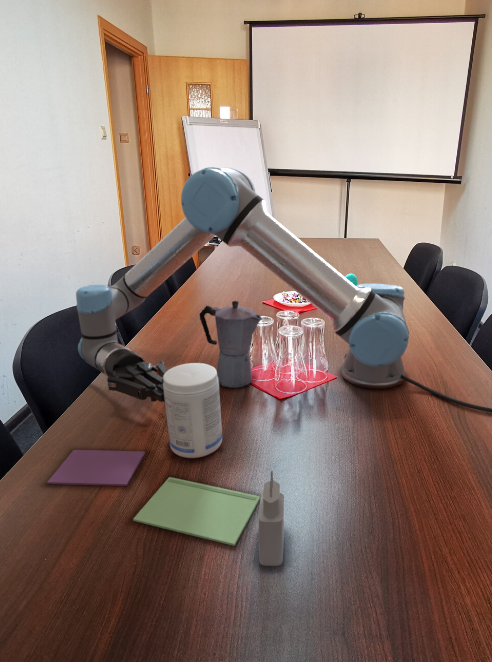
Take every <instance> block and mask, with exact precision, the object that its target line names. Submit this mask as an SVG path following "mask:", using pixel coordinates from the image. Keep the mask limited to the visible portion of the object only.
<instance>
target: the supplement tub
mask: <svg viewBox="0 0 492 662" xmlns="http://www.w3.org/2000/svg"><path fill="white" fill-rule="evenodd" d="M167 370H168V371H167V372H166V373H165V374H164V376H163V381H164V382H163V388H164V398H165V402H164V406H165V414H166V425H167V432H168V440H169V446H170V450H171V451H172V452H173V453H174V454H175V455H177V456H179V457H182V458H185V459H196V458H197V459H198V458H202V457H206V456H209V455H211V454H212V453H214V452H215V451H217V450H218V449H219V448H220V446H221V445H222V442H223V425H222V412H221V411H222V410H221V397H220V395H221V394H220V384H219V382H218V377H217V368H215V367H214V366H212V365H211V364H207V363H202V362H189V363H182V364H180V365H176V366H173V367H171V368H169V369H167Z"/></svg>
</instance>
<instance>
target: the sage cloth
mask: <svg viewBox="0 0 492 662" xmlns="http://www.w3.org/2000/svg"><path fill="white" fill-rule="evenodd" d="M260 499H261V495H260V496H259V495H255V494H252V493H246V492H242V491H237V490H233V489H232V490H231V489H227V488H223V487H218V486H214V485H210V484H204V483H200V482H195V481H190V480H185V479H180V478H177V477H172V476H169V477H168V478H167V479H166V480H165V482H164V483H163V484H162V485H161V486H160V487H159V488H158V490H157V491H155V493H154V494H153V495H152V496H151V498H150V499H149V500H148V501H147V502H145V503H146V504H145V505H144V506H142V507H141V509H140V510H139V511H138V513H137V514H136V515H135V516H134V517H133V519H132V521H133V522H136V523H140V524H144V525H148V526H152V527H156V528H160V529H165V530H168V531H173V532H176V533H180V534H184V535H188V536H193V537H196V538H200V539H204V540H207V541H213V542H216V543H221V544H224V545H229V546H233V547H235V546H236V545H237V542H238V541H239V539H240V537H241V536H242V533H243V532H244V530H245V528H246V526H247V524H248V522H249V520H250V519H251V517H252V515H253V513H254V511H255V509H256V507H257V505H258V503H260Z"/></svg>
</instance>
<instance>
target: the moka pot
mask: <svg viewBox="0 0 492 662" xmlns="http://www.w3.org/2000/svg"><path fill="white" fill-rule="evenodd" d="M239 303H240V302H239V301H238V300H233V301H231V305H232V306H225V307H221V308H220V307H218V306H217V307H216V306H215V307H212V306H210V305H205V307H204V308H203V309H202V310H201V312H199V320H200V322H201V326H202V328H203V331H204V333H205V334H204V335H205V337H206V340H207V341H206V342H207V343H208V344H211V345H214V346H215V345H217V344H218V348H219V349H218V350H219V353H218V360H217V367H216V371H217V377H218V382H219V386H221V387H224V388H225V387H226V388H231V389H236V388H243V387H246V386H248V385H250V383H252V382H253V377H252V376H253V375H252V366H251V355H250V353H251V352H250V350H251V345H252V340H253V334H254V333H255V331H256V329H257V327H258V325H259V323H260V321H262V320H263V318H262V316H261V315H260V314H258V313H256V312H255V310H254V309H252V308H249V307H246V306H239ZM207 314H209V315H210V316H212V317H214V318H215V328H216V335H217V340H213V339H212V336H211V334H210V330H209V326H208V323H207V319H206V316H205V315H207Z"/></svg>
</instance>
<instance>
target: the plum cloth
mask: <svg viewBox="0 0 492 662" xmlns="http://www.w3.org/2000/svg"><path fill="white" fill-rule="evenodd" d="M145 455H146V450H145V451H144V450H143V451H141V450H102V449H101V450H99V449H97V450H96V449H73V450H72V451H71V452H70V454H69V455H68V456H67V457H66V459H65V460H64V461H63V462H62V463H61V465H60V466H59V467H58V468H57V469H56V471H55V472H54V473H53V474H52V476H51V477H50V478H49V479H48V481H47V482H46V484H47V485H65V486H66V485H67V486H104V487H105V486H106V487H107V486H109V487H128V485H129V484H130V481H131V480H132V478H133V476H134V474H135V472H136V471H137V470H138V468H139V466H140V463H141V462H142V460H143V459H144V457H145Z"/></svg>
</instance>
